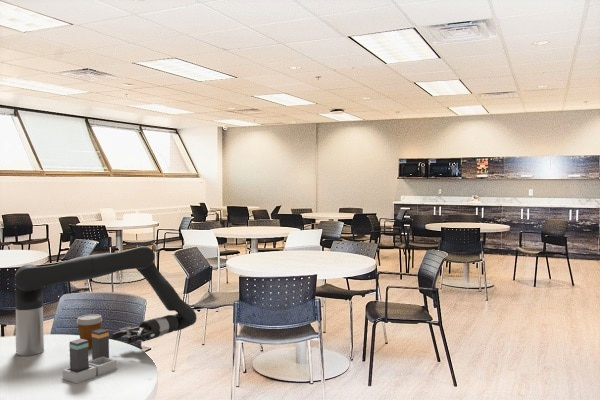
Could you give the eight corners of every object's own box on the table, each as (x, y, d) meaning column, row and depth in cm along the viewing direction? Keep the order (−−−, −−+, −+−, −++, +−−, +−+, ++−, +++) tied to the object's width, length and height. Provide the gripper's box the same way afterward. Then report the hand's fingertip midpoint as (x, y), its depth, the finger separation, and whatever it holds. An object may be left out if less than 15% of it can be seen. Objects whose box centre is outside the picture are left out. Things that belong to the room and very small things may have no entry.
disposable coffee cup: (94, 351, 203) (93, 320, 203) (71, 350, 205) (71, 319, 204) (107, 344, 212) (107, 314, 212) (86, 342, 214) (85, 313, 214)
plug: (92, 364, 189) (91, 331, 188) (102, 361, 192) (101, 328, 192) (99, 366, 187) (98, 333, 186) (109, 363, 190) (108, 330, 190)
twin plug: (70, 378, 173) (69, 341, 172) (81, 374, 176) (80, 338, 176) (77, 380, 170) (77, 343, 170) (89, 376, 174) (88, 340, 173)
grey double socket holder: (61, 382, 172) (60, 369, 172) (103, 367, 186) (103, 355, 185) (76, 387, 168) (75, 374, 168) (118, 372, 181) (118, 360, 181)
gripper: (141, 316, 214) (107, 325, 200) (167, 321, 206) (133, 331, 192) (142, 334, 214) (108, 345, 200) (167, 340, 206) (133, 351, 193)
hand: (120, 338), depth 196 cm, fingers open, 8 cm apart
